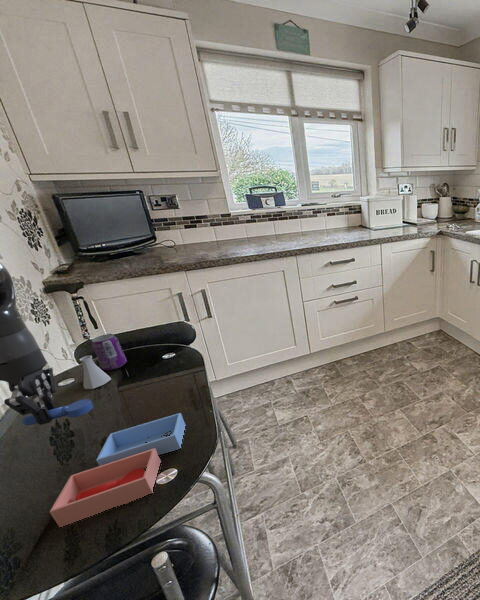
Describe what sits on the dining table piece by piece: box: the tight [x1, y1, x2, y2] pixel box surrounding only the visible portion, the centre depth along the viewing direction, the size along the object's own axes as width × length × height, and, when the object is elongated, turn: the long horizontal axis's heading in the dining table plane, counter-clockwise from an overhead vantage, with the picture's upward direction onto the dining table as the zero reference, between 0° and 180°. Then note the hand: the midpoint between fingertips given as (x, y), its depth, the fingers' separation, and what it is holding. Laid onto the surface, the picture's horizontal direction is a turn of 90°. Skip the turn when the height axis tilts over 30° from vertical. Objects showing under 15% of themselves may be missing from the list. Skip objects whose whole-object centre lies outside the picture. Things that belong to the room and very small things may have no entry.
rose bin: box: [49, 448, 162, 528], centre depth 68 cm, size 15×9×4 cm, turn 115°
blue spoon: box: [21, 398, 94, 426], centre depth 75 cm, size 12×4×2 cm, turn 115°
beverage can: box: [91, 333, 128, 371], centre depth 118 cm, size 7×7×12 cm
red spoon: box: [76, 469, 145, 501], centre depth 68 cm, size 12×4×2 cm, turn 115°
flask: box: [79, 354, 112, 390], centre depth 108 cm, size 7×7×10 cm
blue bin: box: [95, 412, 187, 467], centre depth 79 cm, size 15×9×4 cm, turn 115°
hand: (48, 418), depth 74 cm, fingers closed on blue spoon, 2 cm apart
